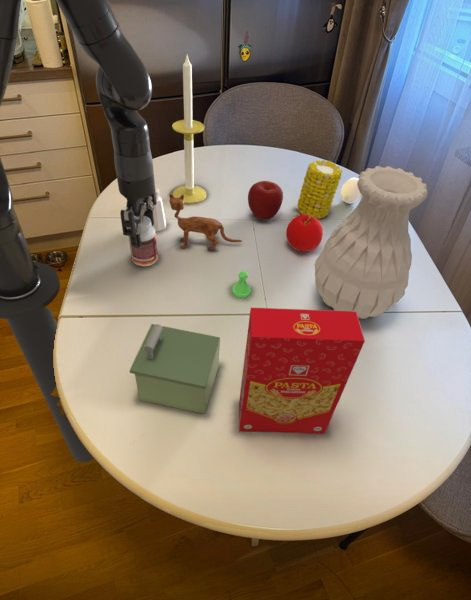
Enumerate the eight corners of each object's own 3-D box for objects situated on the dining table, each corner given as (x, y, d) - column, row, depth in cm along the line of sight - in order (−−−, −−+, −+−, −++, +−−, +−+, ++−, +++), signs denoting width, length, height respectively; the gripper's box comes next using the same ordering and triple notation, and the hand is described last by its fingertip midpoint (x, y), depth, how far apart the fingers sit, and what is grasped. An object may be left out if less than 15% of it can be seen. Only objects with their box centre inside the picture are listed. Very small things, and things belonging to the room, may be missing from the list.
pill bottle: (162, 262, 101) (159, 224, 94) (139, 270, 99) (133, 232, 91) (151, 248, 105) (147, 210, 97) (128, 256, 102) (122, 218, 94)
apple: (284, 224, 116) (289, 192, 109) (251, 227, 114) (254, 195, 107) (273, 205, 122) (278, 174, 115) (242, 208, 120) (245, 176, 113)
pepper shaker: (153, 218, 114) (150, 181, 107) (170, 223, 113) (168, 187, 105) (142, 228, 111) (137, 191, 103) (159, 234, 109) (156, 197, 102)
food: (290, 211, 124) (320, 207, 127) (310, 224, 115) (341, 221, 118) (295, 158, 116) (327, 156, 119) (317, 168, 107) (350, 166, 110)
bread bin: (139, 399, 74) (134, 374, 69) (159, 353, 82) (156, 327, 76) (204, 414, 73) (205, 389, 68) (218, 366, 80) (220, 340, 75)
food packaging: (239, 431, 71) (251, 336, 53) (238, 404, 75) (250, 307, 57) (324, 433, 72) (364, 340, 54) (320, 406, 75) (356, 311, 58)
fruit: (281, 252, 107) (286, 219, 100) (287, 233, 113) (293, 200, 106) (316, 260, 105) (325, 227, 98) (321, 240, 112) (329, 208, 105)
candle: (165, 194, 123) (156, 51, 97) (189, 182, 129) (187, 44, 103) (189, 207, 119) (186, 62, 93) (213, 194, 125) (217, 54, 98)
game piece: (236, 283, 98) (237, 263, 93) (253, 288, 97) (255, 268, 92) (229, 294, 95) (230, 274, 90) (246, 300, 94) (249, 280, 90)
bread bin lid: (130, 373, 69) (126, 356, 66) (152, 326, 76) (149, 310, 73) (205, 389, 68) (205, 373, 64) (220, 340, 75) (220, 323, 72)
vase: (299, 271, 102) (325, 154, 81) (378, 270, 104) (423, 156, 83) (318, 334, 88) (356, 212, 67) (408, 331, 90) (473, 212, 69)
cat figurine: (241, 237, 110) (245, 191, 101) (242, 253, 106) (246, 206, 96) (172, 235, 109) (170, 188, 100) (170, 251, 105) (167, 203, 95)
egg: (349, 195, 129) (356, 171, 124) (363, 205, 126) (371, 181, 120) (333, 199, 127) (340, 175, 121) (347, 210, 123) (354, 186, 118)
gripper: (130, 152, 91) (138, 216, 102) (102, 184, 81) (115, 250, 92) (163, 157, 90) (168, 221, 101) (139, 190, 80) (147, 256, 91)
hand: (143, 235), depth 97 cm, fingers open, 8 cm apart
